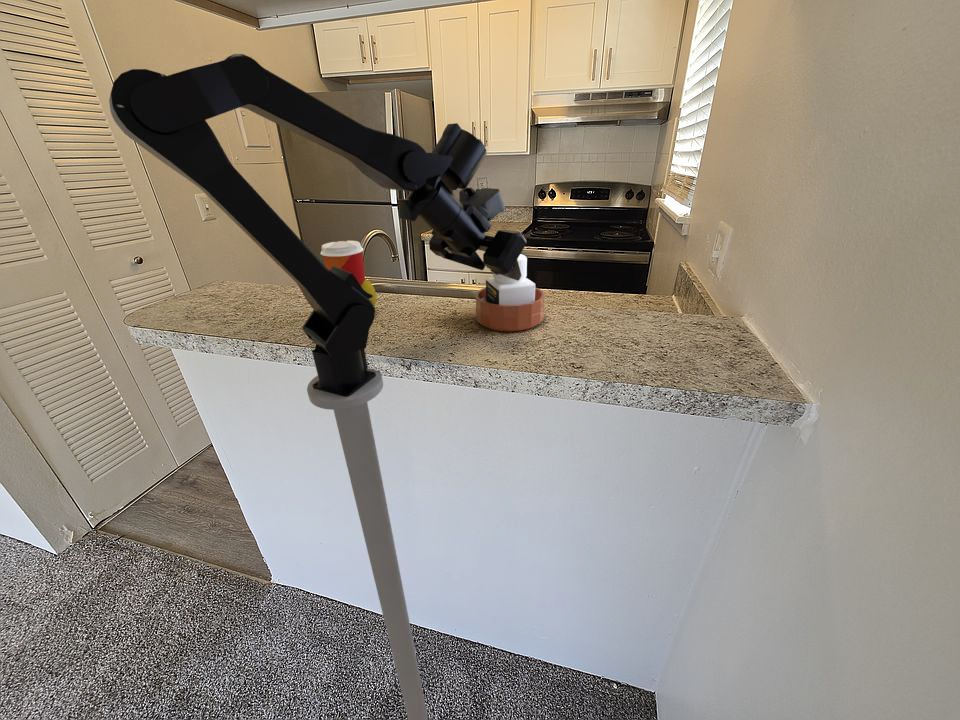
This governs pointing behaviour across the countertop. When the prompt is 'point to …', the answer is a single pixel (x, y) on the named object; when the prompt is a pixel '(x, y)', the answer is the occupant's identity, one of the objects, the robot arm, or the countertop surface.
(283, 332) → the countertop surface
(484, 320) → the bowl
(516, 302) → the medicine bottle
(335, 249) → the paper cup
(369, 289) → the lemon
